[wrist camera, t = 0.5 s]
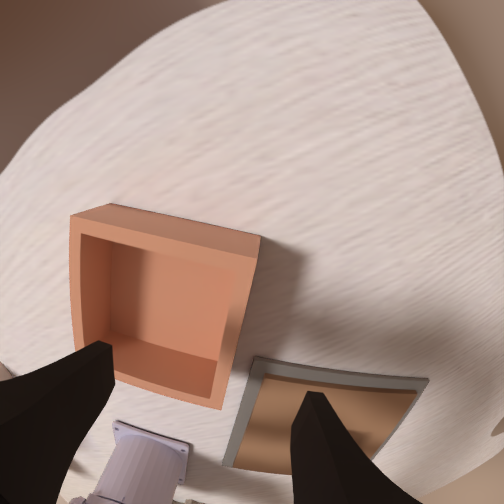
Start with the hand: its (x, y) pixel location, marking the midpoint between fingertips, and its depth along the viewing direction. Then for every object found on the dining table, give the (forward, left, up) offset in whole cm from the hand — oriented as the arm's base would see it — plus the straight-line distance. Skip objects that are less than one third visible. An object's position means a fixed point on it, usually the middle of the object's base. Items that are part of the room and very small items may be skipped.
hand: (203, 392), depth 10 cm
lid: (-12, -10, -9) cm, 18 cm away
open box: (-1, +4, -10) cm, 11 cm away
